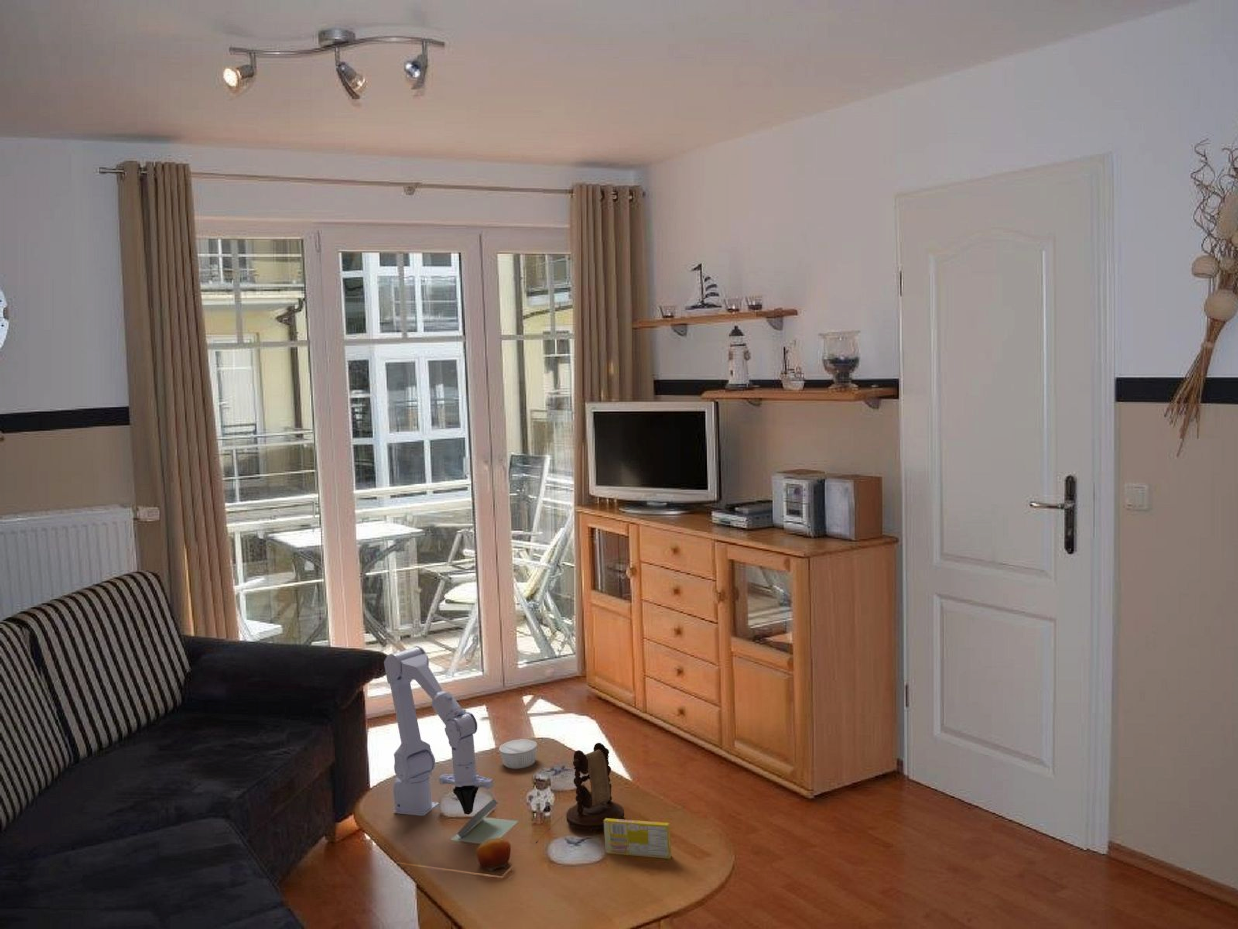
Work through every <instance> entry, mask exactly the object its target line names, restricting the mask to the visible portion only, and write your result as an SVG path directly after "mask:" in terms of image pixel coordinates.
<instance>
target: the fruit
mask: <svg viewBox="0 0 1238 929" xmlns="http://www.w3.org/2000/svg"><path fill="white" fill-rule="evenodd" d="M476 856H477V859H478V863H479V865H480V866H481V867H482V868H483V869H484V870H485V871H489V872H491V873H492V872H494V870H497V869H498V868H505V869H507V868H508V867H507V865H508V863H509V860H510V857H511V843H510V842H509V841H508V840H507V839H506V838H503V837H501V838H494V839H489V840H486V841H484V842H483V843H482V844H479V846H478V847H477V849H476Z"/></svg>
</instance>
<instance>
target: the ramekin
mask: <svg viewBox="0 0 1238 929" xmlns="http://www.w3.org/2000/svg"><path fill="white" fill-rule="evenodd" d="M537 749H538V743H537V742H536V741H534V740H532V739H526V738H525V739H524V738H520V739H513V740H509V741H506V742H505V743H503V744H501V745H500V746H499V748H498V752H499V754H500V757H501V760H502V764H503V766H505V767H506V768H508V769H515V770H516V769H517V770H518V769H519V770H520V769H525V768H528V767H531V766H532V765H534V764H535V762H536V760H537V759H536V758H537Z"/></svg>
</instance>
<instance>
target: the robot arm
mask: <svg viewBox="0 0 1238 929" xmlns="http://www.w3.org/2000/svg"><path fill="white" fill-rule="evenodd" d="M383 664H384V665H383V666H384V671H385V677H386V680H387V681H386V682H387V683H388V684H389V686H390V690H391V697H392V701H393V702H392V703H393V706H394V707H393V708H394V712H395V717H396V722H397V727H398V734H399V739H400V745H399V747H398V748H397V749H396V750H395V752H394V753H393V756H394V765H393V770H394V771H393V772H394V774H395V776H396V777H397V778H396V779H395V781H394V783H393V799H394V800H393V801H394V811H393V813H394V814H400V815H407V816H408V815H409V816H411V815H412V816H421V817H424V816H426V814H428V813H429V812H431V811H432V810H434V808H436V807H437V806H438V805H439V802H435V801H433V799H432V789H431V778H430V776H432V775H433V773H432V772H433V771H434V769H435V767H436V758H435V755H434V753H433V751H432V748H431V744H430V743H428V742H426V741H424V740H422V738H421V731H420V727H419V722H418V717H417V712H416V706H415V702H414V701H415V700H414V697H413V691H412V686H411V682H412V681H413V680H415V682H416V683H417V684H418V686H420V687H421V689H423V691H425V693H426V694H427V695H428V696H429V697H430V698H431V700H432V702H431V707H432V709H433V711H434V712H435V713H436V714H437V716H438V717H439V718H440V720H441V721H442V723H443V724H444V726H445V727H444V732H445V735H446V738H448V744H449V747H450V748H451V758H452V760H451V761H452V769H453V770H452V771H453V773H452V774H451V773H449V774H441V775H440V776H439V777H438V783H439V785H445V784H446V785H454V788H452V792H453V794H454V795H455V796H456V799H458V801H459V803H460V805H461V808H462V810H463V813H464V815H470V814H472V813H473V812H474V811H473V810H474V805H475V799H476V795H477V793H478V791H479V788H483V789H486V790H491V789H492V788H493V787H494V782H493V781H494V779H492V778H487V777H485V776H481V775H478V774H477V764H476V763H477V762H476V751H475V740H474V734H476V733H477V731H478V722H477V719H476V717H475V716H474V714H473V713H472V712H470V711H467V710H466V709H463V708H462V707H461V705H460V704H459V703H458V701H457V700H456V699H455V697H454V696H453V695H452V694H451V692H450V691H445V690H444V689H443V688H442V686H441V684H440V683H439V681H438V680H437V678H436V676H435V674H434V673H433V672H432V670H431V668H430V667H429V665H430V660H429V656H428V655H427V653H426V651H425V649H424V648H423V647H422V646H420V645H416V646H413V647H411V648H408V649H404V650H401V651H397V652H394V653H389V654H388V655H387V656H386V657H385V659H384V661H383Z"/></svg>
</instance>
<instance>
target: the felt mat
mask: <svg viewBox="0 0 1238 929" xmlns="http://www.w3.org/2000/svg"><path fill="white" fill-rule="evenodd" d="M517 823H519V820H511V819H505V818H504V819H503V818H495V817H487V816H486V817H485V818H484V819H483V820H482V821H481V822H480V823H479V824H478V825H477V826H476V827H474V828H473V829H472V830H471V831H470V832H469V833H468V834H466V835H465V836H463V837H462V838H461V837H460V836H459V835H458V834H457V833H456V835H454V836H453V837H452V838H451V839H450V841H455V842H464V843H471V844H479V845H481V844H482V843H483V842H484V841H486V840H489V839H494V838H503V836H505V835H506V834H507V833H508V832H509V831H510V830H511V829H512V828H513V827H515V825H517Z"/></svg>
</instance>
